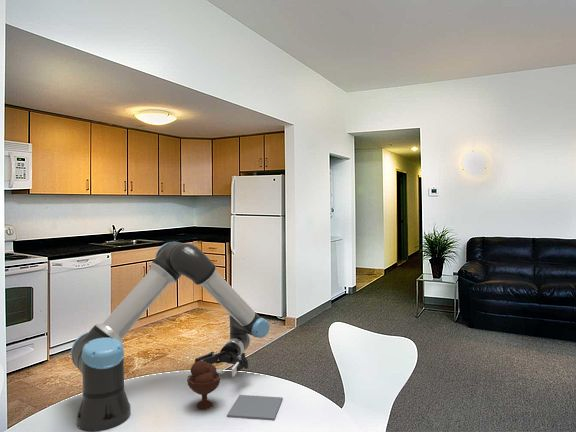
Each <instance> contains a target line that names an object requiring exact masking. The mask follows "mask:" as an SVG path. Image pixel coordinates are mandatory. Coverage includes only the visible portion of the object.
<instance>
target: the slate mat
mask: <svg viewBox="0 0 576 432" xmlns="http://www.w3.org/2000/svg"><path fill="white" fill-rule="evenodd" d="M283 400H284V398H283V397H282V396H267V395H266V396H265V395H249V394H239V395H238V397H237V398H236V400H235V402H234V403H233V404H232V406H231V408H230V410H228V413H227V414H226V418H237V419H238V418H239V419H248V420H249V419H250V420H251V419H253V420H263V421H264V420H266V421H275V419H276V417H277V414H278V412H279V409H280V407H281V404H282V402H283Z"/></svg>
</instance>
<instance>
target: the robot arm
mask: <svg viewBox="0 0 576 432" xmlns="http://www.w3.org/2000/svg"><path fill="white" fill-rule="evenodd" d="M182 276H183V277H186V278H188V279H189V280H190V281H192V282H193V283H194V284H195V285H197V286H201V287H202V288H203V289H204V290H205V291H206V292H207V293H208V294H209V295H210V297H212V298H213V299H214V300H215V301H216V302H217V303H218V304H219V305H220V306H221V307H222V308H223V309H224V310H225V312H227V313H228V314H229V340H228V341H227V343H225V344H224V345H223V347H221V349H220V351H219V352H217V353H215V351H210V352H209V353H206V354H204V355H202V356H200V357H197V358H195V359H194V363H195V362H197V361H206V362H207V363H210V364H212V365H214V364H222V363H225V364H231V365H233V366H232V368H231V378H232V377H233V378H235V376H236V375H237V373H238V372H241V371H242V370H243V369H245V370H247V369H249V361H248V359H247V357H246V353H245V351H246V350H247V349H248V347H249V346H250V343H251V336H252V337H254V338H258V339H263V338H264V337H266V336H267V335H268V334H269V331H270V328H271V327H270V323H269V321H268V320H267V319H265V318H263V317H261V316H259V314H258V313H257V312H256V311H255V310H254V309H253V308H252V307H251V306H250V305H249V304H248V303H247V302H246V301H245V300H244V299H243V297H241V295H240V294H239V293H238V292H237V291H236V290H235V289H234V288H233V287H232V286H231V285H230V284H229V282H228V281H226V279H225V278H224V277H222V275H221V274H220V273H219V272H218V271H217V265H216V264H214V263H213V261H212V260H211V259H210V258H209V257H208V256H207V255H206V253H204V252H203V251H202V250H201V249H200V248H199V247H197V246H196V245H194V244H192V243H186V242H185V243H184V242H180V241H169V242H166V243H164V244H162V245H160V246H159V248H158V249H157V251H156V254H155V258H154V259H153V260H152V261H151V263H150V269H149V271H148V272H147V273H146V274H145V275H144V276H143V277H142V278H141V280H140V281H139V282H138V283H137V284H136V285H135V286H134V288H133V289H131V291H130V292H129V293H128V295H126V297H124V299H123V300H122V301H121V302H120V303H119V304H118V306H117V307H115V309H114V310H113V311H112V312H111V313H110V315H108V317H107V318H106V319H105V320H104V321H103V322H101V323H95V324H94V325H93V326H92V327H91V328H90V330H89V331H88V332H85V333H83V334H80V336H78V338H76V339H75V341H74V342H73V344H72V346H71V349H70V356H71V361H72V363H73V365H74V366H75V367H76V368H77V370H78V371H79V372H80V373H81V374H82V375H81V376H82V399H81V403H80V406H79V409H78V412H77V416H76V425H78V426H77V428H79V427H80V428H81V430H82V429H83V430H82V431H89V432H90V431H91V432H95V431H97V432H98V431H103V430H109V429H111V428H113V427H116V426H119V425H120V424H123V423H124V422H125V421H127V420H128V419H129V418H130V417H131V414H132V412H131V410H132V409H131V403H130V401H129V398H128V395H127V394H126V390H125V349H124V340H123V339H124V337H125V336H126V335H127V334H128V332H129V331H130V330H131V329H132V328H133V326H135V324H137V322H138V321H139V319H141V317H143V315H144V314H145V312H147V310H148V309H149V308H150V307H151V306H152V304H153V303H154V302H155V301H156V300H157V298H159V296H160V295H161V294H162V292H164V290H165V289H166V288H167V287H168V286H169V285H170V284H176V282H177V281H178V280H179V279H180V278H181V277H182ZM80 428H79V429H80Z"/></svg>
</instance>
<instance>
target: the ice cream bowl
mask: <svg viewBox="0 0 576 432" xmlns="http://www.w3.org/2000/svg"><path fill="white" fill-rule="evenodd" d="M191 365H192V366H191V368H190V370H189V371H190V375H188V376H187V380H186V381H187V386H188V387H189V389H191V390H192V392H194V393H195V394H197V395H201V400H200V401H199V402H197V404H196V407H195V408H196V409H197V410H199V411H201V410H202V411H205V410H206V411H207V410H210V409H211V408H213V407H214V403H213V401H211V400H209V399H208V395H209V394H211V393H213V392H214V391H215V390H216V389H217V388H218V387H219V385H220V382H221V378H222V373H220V372H217V367H216V366H215V365H214V364H210V363H207V362H206V361H197V362H195V361H194V363H192V364H191Z"/></svg>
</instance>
